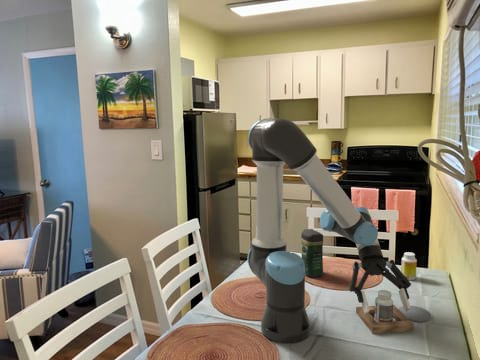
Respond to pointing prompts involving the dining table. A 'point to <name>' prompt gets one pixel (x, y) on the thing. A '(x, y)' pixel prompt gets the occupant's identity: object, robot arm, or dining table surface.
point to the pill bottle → (384, 307)
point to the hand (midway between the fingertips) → (387, 311)
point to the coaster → (416, 314)
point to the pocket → (385, 327)
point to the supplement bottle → (409, 265)
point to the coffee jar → (312, 252)
